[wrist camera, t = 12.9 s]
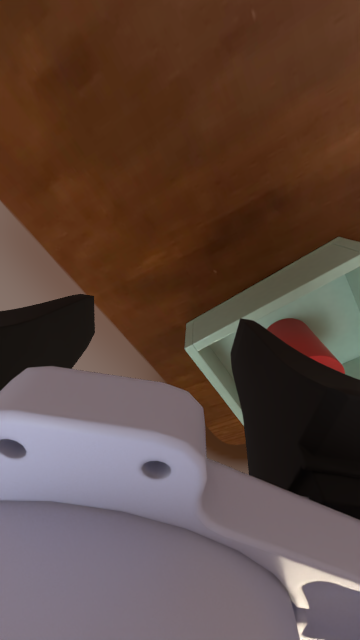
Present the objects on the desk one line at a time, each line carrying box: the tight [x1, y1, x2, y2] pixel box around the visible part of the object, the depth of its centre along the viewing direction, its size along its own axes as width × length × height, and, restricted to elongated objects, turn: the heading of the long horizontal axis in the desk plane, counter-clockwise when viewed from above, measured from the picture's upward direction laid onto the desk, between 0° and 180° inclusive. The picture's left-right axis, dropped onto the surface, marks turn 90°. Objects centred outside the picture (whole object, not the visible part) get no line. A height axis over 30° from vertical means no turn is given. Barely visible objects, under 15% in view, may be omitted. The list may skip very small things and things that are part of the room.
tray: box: [184, 237, 360, 425], centre depth 21 cm, size 15×13×4 cm
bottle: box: [267, 318, 345, 374], centre depth 19 cm, size 4×4×8 cm
